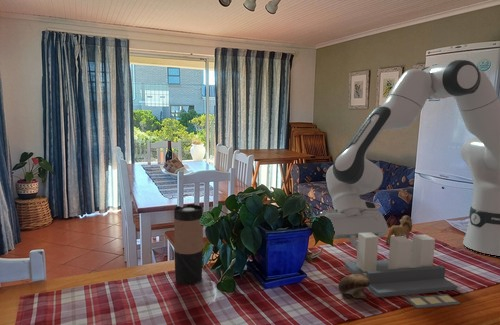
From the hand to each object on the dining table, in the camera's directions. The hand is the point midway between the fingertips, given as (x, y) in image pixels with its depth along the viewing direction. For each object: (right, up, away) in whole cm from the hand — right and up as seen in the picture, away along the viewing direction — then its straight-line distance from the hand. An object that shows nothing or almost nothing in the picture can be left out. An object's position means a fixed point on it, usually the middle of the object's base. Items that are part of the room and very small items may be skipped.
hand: (362, 250), depth 101 cm
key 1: (0, -5, -2) cm, 5 cm away
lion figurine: (+21, -3, +25) cm, 33 cm away
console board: (+8, -7, -4) cm, 11 cm away
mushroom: (-7, -8, -14) cm, 18 cm away
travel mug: (-50, -6, -7) cm, 51 cm away
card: (+12, -8, -16) cm, 22 cm away
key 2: (+16, -5, -3) cm, 17 cm away
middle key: (+9, -5, -5) cm, 11 cm away
